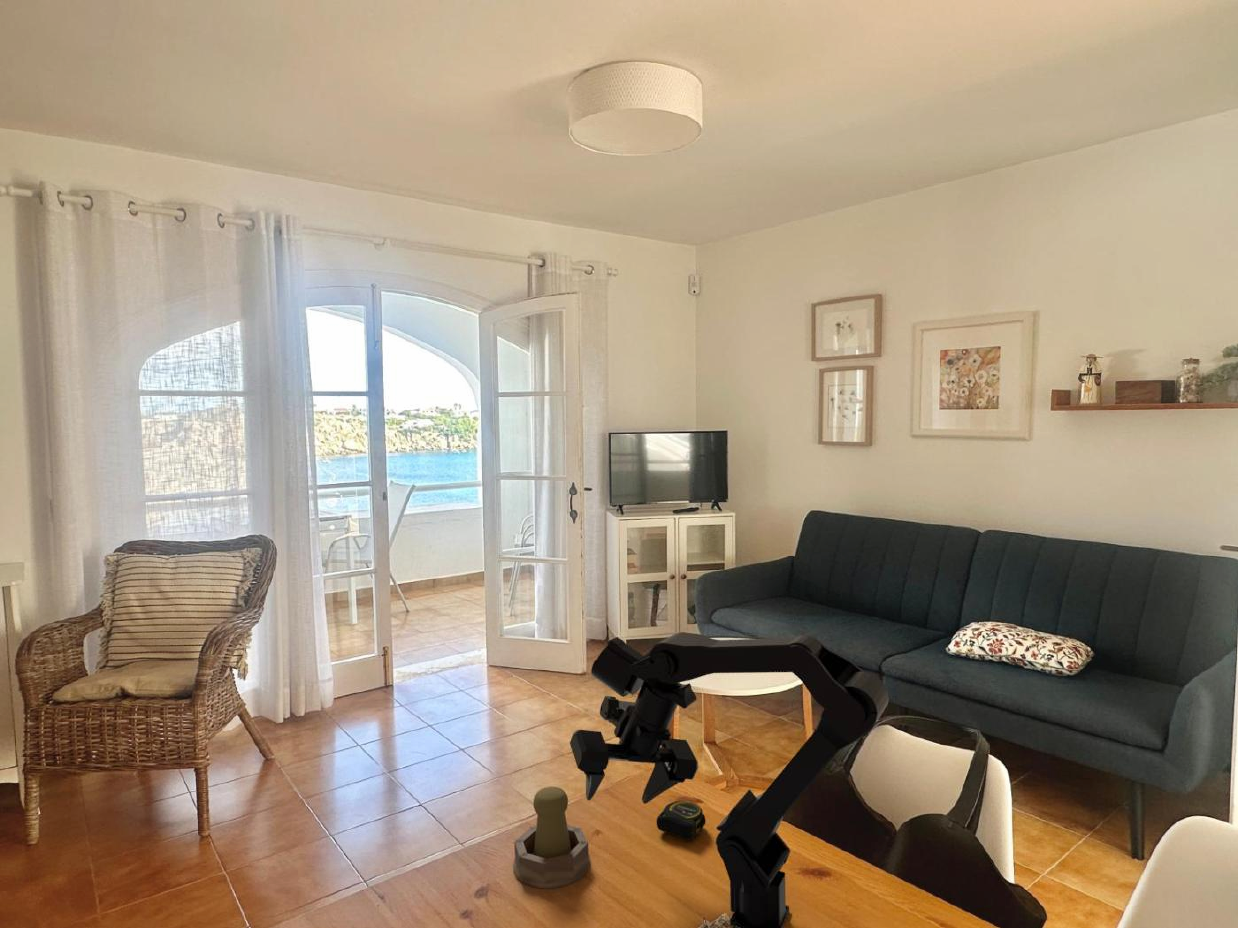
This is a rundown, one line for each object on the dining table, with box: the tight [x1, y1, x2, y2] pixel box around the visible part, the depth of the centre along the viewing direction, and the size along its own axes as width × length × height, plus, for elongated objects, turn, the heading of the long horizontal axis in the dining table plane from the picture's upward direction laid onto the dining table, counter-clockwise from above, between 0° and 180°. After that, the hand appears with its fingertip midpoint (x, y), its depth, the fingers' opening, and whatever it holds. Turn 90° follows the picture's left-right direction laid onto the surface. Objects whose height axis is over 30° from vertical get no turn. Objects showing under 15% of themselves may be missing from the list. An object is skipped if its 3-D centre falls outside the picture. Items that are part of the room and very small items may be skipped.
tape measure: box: [656, 800, 706, 842], centre depth 123 cm, size 7×7×4 cm
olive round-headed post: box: [532, 786, 571, 859], centre depth 114 cm, size 6×6×11 cm
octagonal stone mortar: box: [512, 824, 591, 890], centre depth 115 cm, size 12×12×4 cm
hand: (616, 799), depth 112 cm, fingers open, 9 cm apart
